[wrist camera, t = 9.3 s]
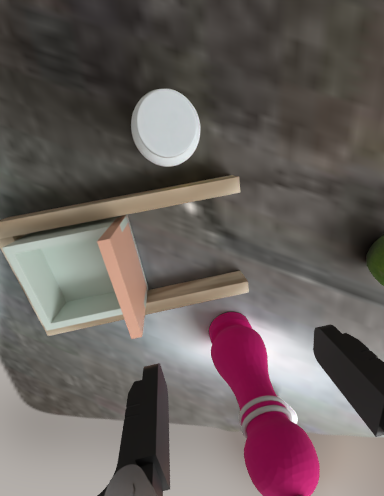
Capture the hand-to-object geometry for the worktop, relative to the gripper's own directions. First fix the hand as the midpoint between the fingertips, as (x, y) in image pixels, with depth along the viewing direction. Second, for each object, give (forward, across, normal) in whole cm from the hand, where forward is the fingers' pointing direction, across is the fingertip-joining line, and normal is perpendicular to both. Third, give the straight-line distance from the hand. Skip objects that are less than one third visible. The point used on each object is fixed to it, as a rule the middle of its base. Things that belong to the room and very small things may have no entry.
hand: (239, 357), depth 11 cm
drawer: (+18, +12, 0) cm, 22 cm away
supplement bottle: (+18, +1, -12) cm, 22 cm away
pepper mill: (+18, -3, +15) cm, 24 cm away
